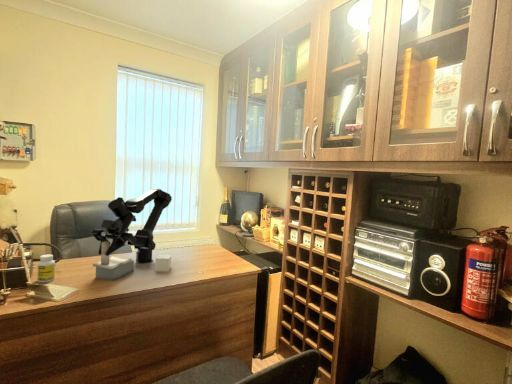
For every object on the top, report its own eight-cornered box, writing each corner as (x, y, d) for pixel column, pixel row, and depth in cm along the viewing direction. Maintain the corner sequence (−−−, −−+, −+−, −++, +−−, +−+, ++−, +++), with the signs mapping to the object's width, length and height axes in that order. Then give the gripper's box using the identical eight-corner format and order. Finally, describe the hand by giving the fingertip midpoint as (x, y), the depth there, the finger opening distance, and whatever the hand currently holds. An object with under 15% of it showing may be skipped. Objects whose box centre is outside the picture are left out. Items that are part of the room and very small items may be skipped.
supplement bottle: (35, 283, 106) (35, 258, 105) (39, 278, 111) (40, 254, 110) (52, 281, 108) (53, 257, 107) (56, 277, 113) (56, 253, 112)
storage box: (116, 268, 126) (116, 257, 126) (133, 271, 124) (133, 260, 124) (95, 277, 114) (95, 265, 114) (114, 280, 113) (114, 268, 112)
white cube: (155, 271, 126) (155, 258, 126) (157, 267, 132) (158, 254, 132) (168, 271, 127) (169, 258, 126) (170, 267, 133) (171, 254, 132)
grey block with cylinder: (114, 258, 124) (114, 236, 124) (131, 260, 122) (132, 238, 122) (92, 266, 113) (93, 242, 112) (111, 269, 111) (112, 244, 110)
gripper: (94, 210, 118) (71, 241, 108) (133, 214, 114) (112, 246, 104) (108, 225, 126) (87, 255, 116) (144, 229, 122) (126, 261, 112)
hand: (102, 254), depth 111 cm, fingers closed on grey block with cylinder, 3 cm apart
